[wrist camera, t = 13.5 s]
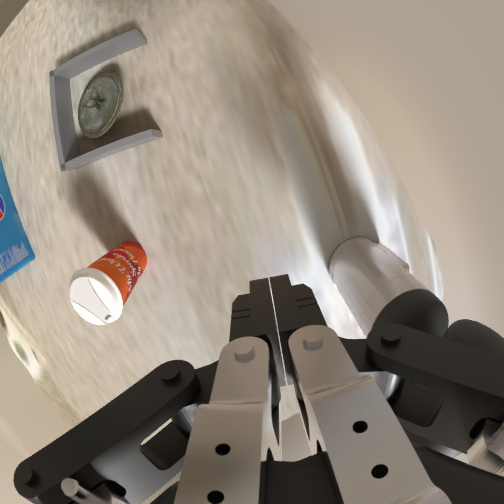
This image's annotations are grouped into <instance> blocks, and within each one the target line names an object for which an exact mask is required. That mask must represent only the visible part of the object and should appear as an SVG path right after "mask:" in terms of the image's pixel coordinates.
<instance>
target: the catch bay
mask: <svg viewBox="0 0 504 504" xmlns="http://www.w3.org/2000/svg"><path fill="white" fill-rule="evenodd" d="M145 44H147V39H146V38H145V37H144V36H143V35H142V34H141V33H140V32H139V31H138V30H137V29H133V30H131V31H128V32H126V33H123V34H121V35H119V36H116V37H114V38H112V39H110V40H107V41H105V42H103V43H101V44H99V45H97V46H95V47H93V48H91V49H89V50H87V51H85V52H83V53H82V54H80V55H78V56H76V57H74V58H73V59H71V60H69V61H67V62H66V63H64V64H62V65H61V66H59V67H57V68H56V69H54V70H53V71H51V72H50V73H49V76H50V95H51V107H52V117H53V125H54V133H55V140H56V146H57V152H58V157H59V163H60V168H61V172H62V171H67V170H72V169H77V168H79V167H82V166H84V165H87V164H89V163H91V162H94V161H96V160H99V159H101V158H104V157H107V156H109V155H112V154H115V153H117V152H120V151H123V150H126V149H129V148H132V147H134V146H137V145H140V144H144V143H147V142H150V141H153V140H156V139H160V138H163V136H162V131H159V130H154V129H149V130H146V131H143V132H140V133H137V134H134V135H131V136H129V137H126V138H123V139H120V140H118V141H115V142H112V143H110V144H107V145H105V146H102V147H100V148H97V149H95V150H93V151H90V152H88V153H86V154H83V155H81V156H79V151H78V145H77V139H76V133H75V127H74V120H73V112H72V103H71V93H70V81H69V79H71V78H72V77H74V76H76V75H78V74H80V73H82V72H83V71H85V70H87V69H89V68H91V67H93V66H95V65H97V64H99V63H102V62H104V61H106V60H108V59H110V58H112V57H115V56H117V55H119V54H122V53H124V52H127V51H129V50H132V49H134V48H137V47H139V46H142V45H145Z"/></svg>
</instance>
